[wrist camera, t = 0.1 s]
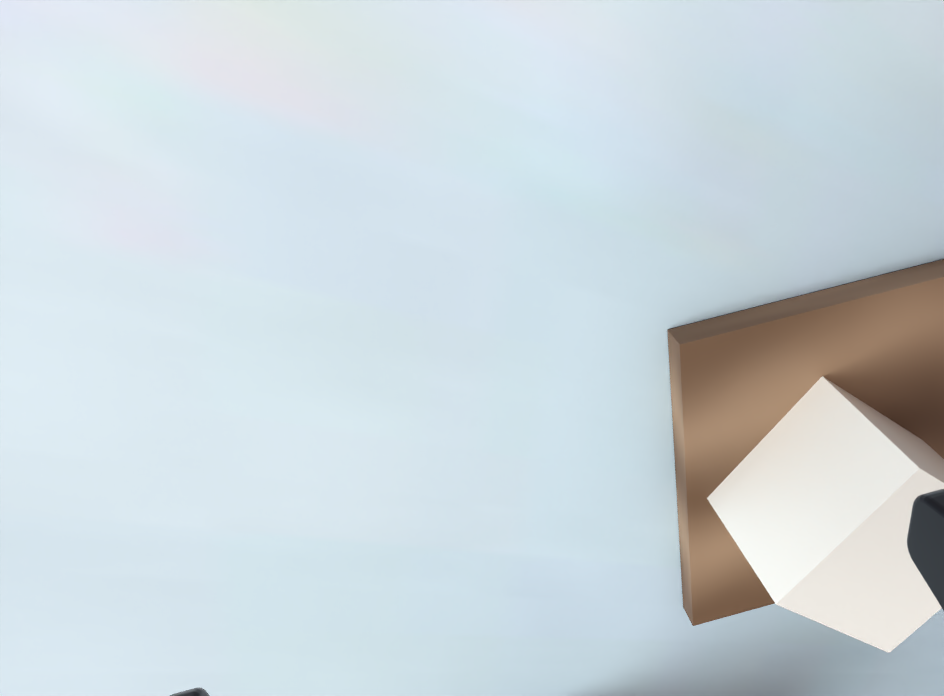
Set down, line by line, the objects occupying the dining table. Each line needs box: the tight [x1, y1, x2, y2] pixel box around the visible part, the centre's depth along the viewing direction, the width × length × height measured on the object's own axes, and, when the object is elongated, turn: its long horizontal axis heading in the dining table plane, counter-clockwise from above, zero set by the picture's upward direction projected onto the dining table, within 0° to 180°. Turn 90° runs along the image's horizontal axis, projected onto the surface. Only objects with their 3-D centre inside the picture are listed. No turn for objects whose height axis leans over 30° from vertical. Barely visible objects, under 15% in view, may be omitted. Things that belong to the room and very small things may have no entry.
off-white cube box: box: [707, 376, 944, 653], centre depth 26 cm, size 6×6×5 cm
